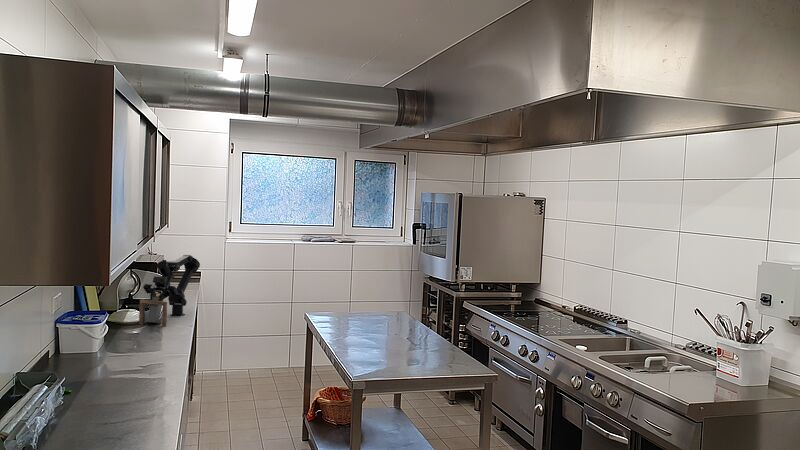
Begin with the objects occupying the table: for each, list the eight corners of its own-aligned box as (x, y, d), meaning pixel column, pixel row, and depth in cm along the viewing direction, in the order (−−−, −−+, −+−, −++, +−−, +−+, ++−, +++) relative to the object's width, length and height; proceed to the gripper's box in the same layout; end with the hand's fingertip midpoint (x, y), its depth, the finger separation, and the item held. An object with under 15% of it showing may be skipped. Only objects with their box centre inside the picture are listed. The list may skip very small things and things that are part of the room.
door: (144, 322, 337) (144, 312, 337) (142, 322, 338) (142, 312, 337) (157, 318, 349) (158, 308, 349) (156, 318, 349) (156, 308, 349)
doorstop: (150, 322, 339) (156, 293, 344) (160, 323, 338) (166, 294, 343) (145, 321, 334) (151, 291, 338) (155, 322, 333) (161, 292, 338)
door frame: (141, 323, 337) (142, 299, 336) (166, 326, 333) (167, 301, 333) (139, 324, 335) (139, 299, 334) (164, 326, 331) (165, 302, 331)
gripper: (145, 269, 343) (133, 291, 332) (176, 271, 340) (165, 294, 330) (152, 281, 351) (141, 303, 340) (182, 283, 348) (172, 306, 338)
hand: (154, 301), depth 337 cm, fingers closed on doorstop, 4 cm apart
